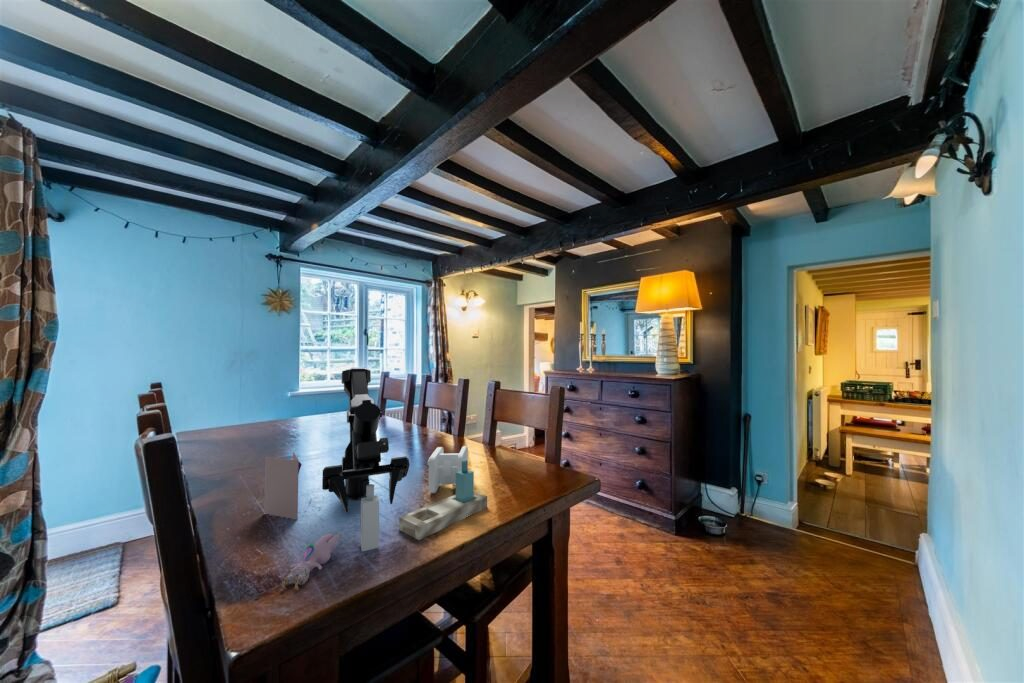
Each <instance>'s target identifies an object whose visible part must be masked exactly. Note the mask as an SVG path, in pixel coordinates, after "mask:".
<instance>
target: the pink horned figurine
mask: <svg viewBox="0 0 1024 683" xmlns="http://www.w3.org/2000/svg"><path fill="white" fill-rule="evenodd" d="M341 536H342V535H341V533H339V534H336V535H335V534H334V533H328V534H324V535H322V536H321V537H320V538H319V539H318V540H317V541H316V542H315V544H313V542H311V543H308V544H307V546H306V550H305V552H304V554H303V556H302V560H301V562H298V563H294V564H292V565H290V566H289V568H290V569H291V571H290V573H289V574H288V575H286V576H285V578H284V580H282V581H281V582H282V583H281V588H280V590H282V591H285V590H287V587H286V582H287V584H290V585H294V588H293V591H294V590H297V591H299V589H300V588H299V585H300V586H301V585H302V586H303V585H305V584H306V583H307V582H308V580H309V579H310V576H311V575H310V574H311V572H312V571H313V570H314V568H318V570H319V571H320V570H322V569H323V567H322V565H324V564H326V563H328V561H329V560H330V559H331V554H332V550H333V548H334V547H335V546H336V545H337V543H338V542H339V540H340V537H341Z"/></svg>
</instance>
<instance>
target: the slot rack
mask: <svg viewBox="0 0 1024 683" xmlns="http://www.w3.org/2000/svg"><path fill="white" fill-rule="evenodd" d="M487 508H488V496H487V495H484V494H482V493H478V492H475V491H474V500H471V501H469V502H467V503H462V502H459V501H456V494H454V495H451V496H449V497H446V498H444V499H441V500H439V501H435V502H434V503H431V504H428V505H426V506H423V507H422V508H419V509H416V510H414V511H411V512H409V513H406V514H404V515H401V516H398V530H399V531H400V532H402V533H404V534H406V535H407V536H410V537H411V538H414V539H415V540H418V541H420V540H423V539H425V538H426V537H429V536H431V535H433V534H436V533H437V532H439V531H441V530H443V529H445V528H448V527H450V526H452V525H454V524H456V523H458V522H460V521H462V520H465V519H467V518H468V516H469V517H471V516H473V515H475V514H477V513H479V512H481V511H483V510H485V509H487ZM472 514H473V515H472ZM470 515H471V516H470ZM466 517H467V518H466Z"/></svg>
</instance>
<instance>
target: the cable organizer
mask: <svg viewBox="0 0 1024 683" xmlns="http://www.w3.org/2000/svg"><path fill="white" fill-rule="evenodd" d="M468 451H469V450H468V445H463V446H461V449H460V451H459V452H458V453H456V452H455V453H449V452H448V453H445V452H444V447H443V446H437V447H436V449H435V450H434V451H433V452H432V453H431V455H430V456H429V457H428V460H427V466H428V492H429V494H436V493H437V491H438V489H439V488H440V487H442V489H444V485H452V487H456V472H458V471H461V470H462V460H468V461H469V459H468V457H469V456H468V454H469V453H468Z"/></svg>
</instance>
